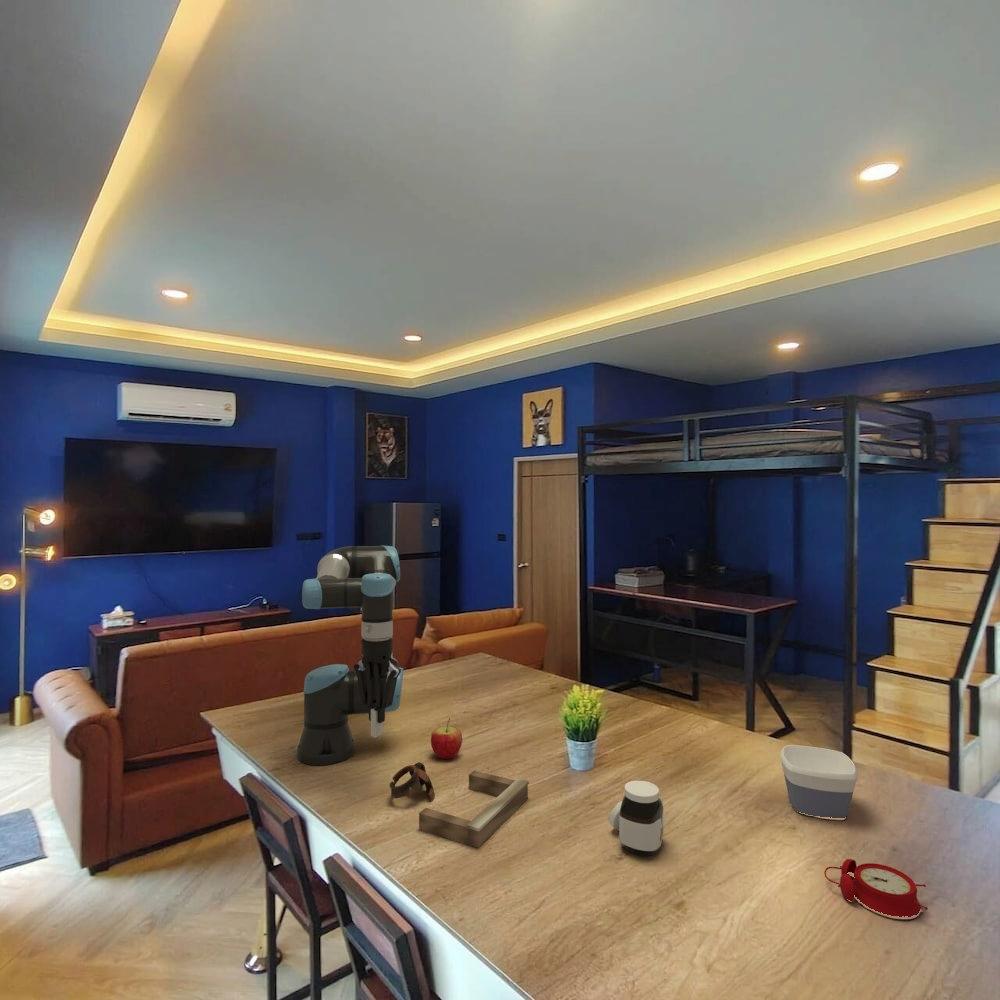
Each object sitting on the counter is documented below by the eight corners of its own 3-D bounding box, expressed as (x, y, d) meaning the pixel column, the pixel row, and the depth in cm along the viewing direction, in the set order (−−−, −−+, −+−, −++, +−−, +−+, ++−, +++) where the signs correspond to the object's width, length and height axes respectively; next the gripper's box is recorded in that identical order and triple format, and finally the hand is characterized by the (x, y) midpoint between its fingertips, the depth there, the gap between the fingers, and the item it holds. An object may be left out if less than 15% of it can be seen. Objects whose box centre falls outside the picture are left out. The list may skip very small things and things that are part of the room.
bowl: (848, 797, 144) (848, 750, 144) (863, 831, 129) (864, 778, 129) (777, 787, 149) (777, 741, 149) (784, 818, 134) (784, 767, 134)
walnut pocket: (418, 830, 129) (418, 810, 129) (474, 784, 150) (474, 767, 150) (478, 848, 122) (478, 828, 122) (528, 798, 143) (528, 780, 143)
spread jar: (652, 864, 117) (652, 803, 117) (597, 846, 123) (597, 788, 123) (670, 835, 127) (670, 779, 127) (618, 820, 133) (619, 766, 133)
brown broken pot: (434, 810, 138) (416, 782, 137) (398, 824, 140) (380, 797, 138) (442, 773, 150) (426, 747, 148) (409, 787, 151) (392, 761, 150)
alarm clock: (931, 911, 99) (829, 861, 107) (920, 945, 100) (820, 893, 108) (927, 877, 108) (833, 833, 116) (918, 909, 109) (825, 863, 116)
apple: (467, 753, 168) (467, 717, 168) (452, 765, 160) (452, 727, 160) (441, 748, 171) (441, 712, 171) (425, 760, 163) (425, 722, 163)
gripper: (345, 638, 148) (345, 735, 148) (388, 643, 142) (388, 745, 142) (366, 632, 155) (366, 725, 155) (408, 637, 149) (407, 734, 149)
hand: (376, 734), depth 149 cm, fingers closed
